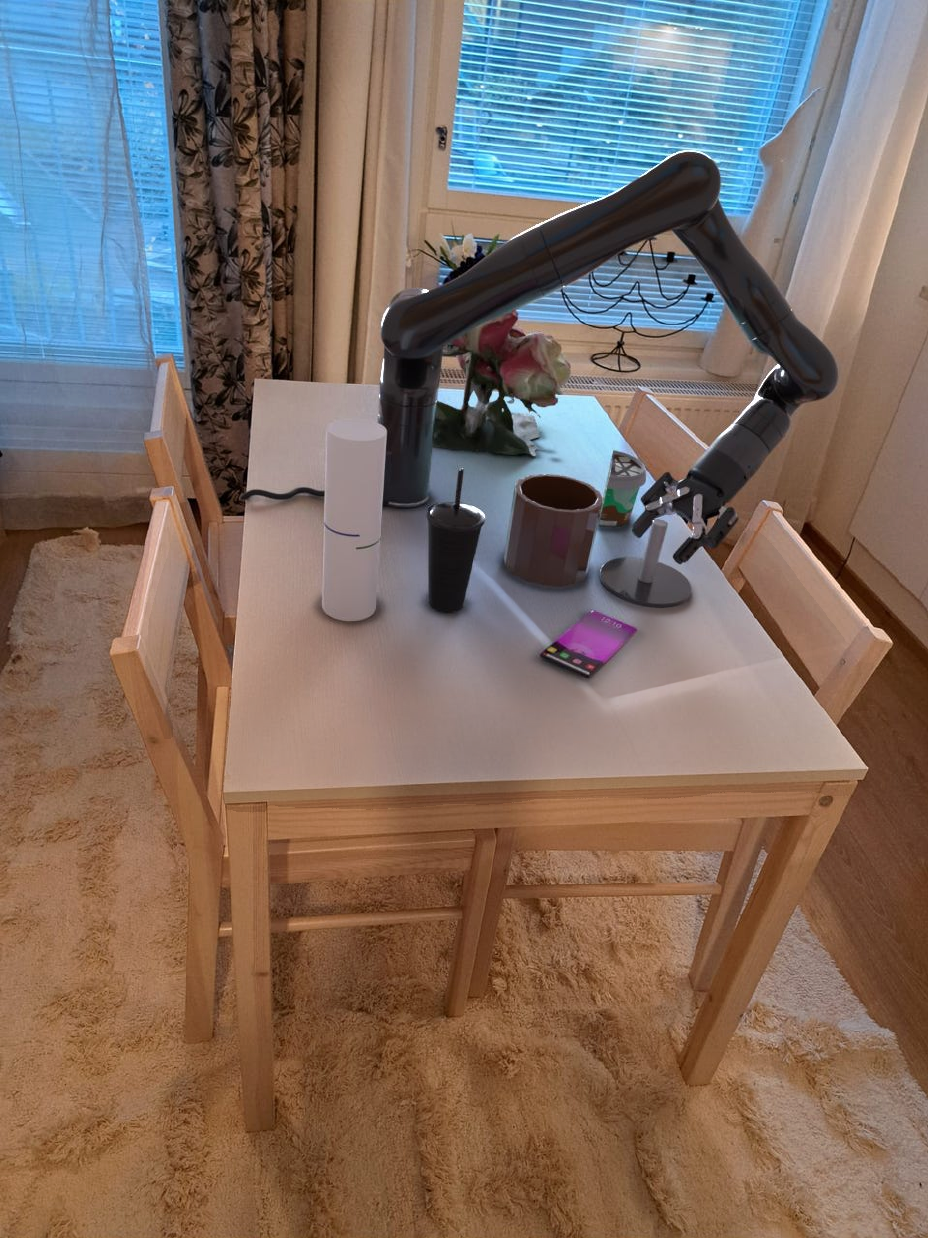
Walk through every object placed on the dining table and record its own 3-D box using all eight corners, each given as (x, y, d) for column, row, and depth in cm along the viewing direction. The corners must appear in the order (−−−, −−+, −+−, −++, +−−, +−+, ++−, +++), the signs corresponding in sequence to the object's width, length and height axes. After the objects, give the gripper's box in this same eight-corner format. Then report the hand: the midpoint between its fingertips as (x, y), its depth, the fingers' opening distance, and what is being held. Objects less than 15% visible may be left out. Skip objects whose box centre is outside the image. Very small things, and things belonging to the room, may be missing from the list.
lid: (633, 617, 123) (650, 550, 117) (581, 570, 133) (594, 506, 127) (708, 602, 129) (727, 538, 123) (653, 558, 139) (669, 497, 133)
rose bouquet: (561, 462, 168) (590, 301, 152) (409, 445, 167) (422, 281, 150) (551, 415, 190) (575, 270, 173) (416, 400, 188) (429, 252, 172)
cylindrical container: (323, 591, 120) (327, 416, 106) (375, 593, 121) (386, 420, 107) (320, 620, 114) (325, 438, 100) (375, 622, 115) (387, 442, 101)
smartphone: (537, 658, 112) (538, 653, 111) (590, 612, 123) (591, 607, 122) (587, 682, 109) (589, 676, 108) (637, 632, 120) (638, 627, 119)
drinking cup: (433, 622, 116) (447, 485, 105) (409, 594, 122) (420, 459, 111) (483, 613, 120) (502, 478, 109) (457, 585, 125) (473, 454, 114)
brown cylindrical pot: (529, 595, 125) (543, 516, 118) (489, 553, 134) (500, 478, 127) (602, 582, 130) (619, 506, 124) (558, 543, 140) (572, 470, 133)
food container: (634, 539, 144) (647, 483, 138) (597, 532, 144) (609, 476, 139) (636, 508, 154) (649, 455, 149) (601, 501, 155) (613, 448, 149)
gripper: (685, 430, 129) (612, 513, 129) (760, 468, 120) (682, 557, 120) (700, 459, 135) (630, 538, 135) (773, 497, 125) (698, 582, 126)
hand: (655, 547), depth 128 cm, fingers open, 8 cm apart
